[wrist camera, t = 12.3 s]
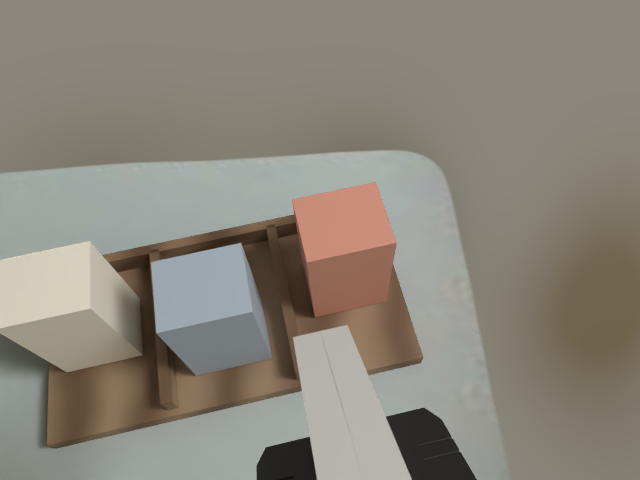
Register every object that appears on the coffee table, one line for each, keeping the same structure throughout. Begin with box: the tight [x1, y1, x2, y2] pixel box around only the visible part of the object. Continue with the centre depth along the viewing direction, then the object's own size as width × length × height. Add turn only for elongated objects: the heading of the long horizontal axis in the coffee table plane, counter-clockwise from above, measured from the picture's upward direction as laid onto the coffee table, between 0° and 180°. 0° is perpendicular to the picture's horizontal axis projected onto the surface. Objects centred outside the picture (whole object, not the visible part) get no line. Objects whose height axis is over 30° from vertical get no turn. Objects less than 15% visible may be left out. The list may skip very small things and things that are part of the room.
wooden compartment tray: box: [47, 215, 423, 448], centre depth 44 cm, size 29×14×4 cm, turn 103°
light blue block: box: [151, 243, 272, 376], centre depth 38 cm, size 6×5×10 cm
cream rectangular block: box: [0, 241, 143, 372], centre depth 39 cm, size 6×5×10 cm
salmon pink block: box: [292, 182, 396, 317], centre depth 40 cm, size 6×5×10 cm
